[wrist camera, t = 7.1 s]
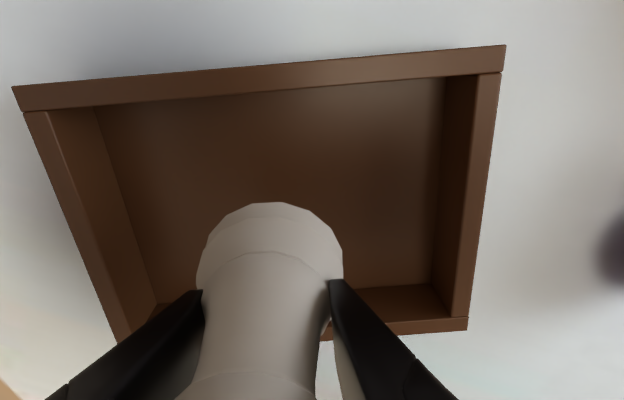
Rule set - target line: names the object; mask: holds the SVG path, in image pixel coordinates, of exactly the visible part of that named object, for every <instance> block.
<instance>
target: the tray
mask: <svg viewBox="0 0 624 400" xmlns="http://www.w3.org/2000/svg"><path fill="white" fill-rule="evenodd" d="M505 53H506V45H493V46H481V47H469V48H458V49H446V50H434V51H422V52H410V53H398V54H387V55H375V56H363V57H351V58H339V59H327V60H316V61H304V62H292V63H280V64H268V65H256V66H244V67H233V68H221V69H209V70H197V71H185V72H173V73H162V74H150V75H138V76H126V77H114V78H102V79H91V80H79V81H67V82H55V83H43V84H31V85H19V86H12V87H11V88H12V91H13V93H14V95H15V98H16V100H17V103H18V105H19V107H20V110H21V111H22V112H24V113H23V116H24V119H25V121H26V123H27V126H28V128H29V131H30V133H31V135H32V138H33V140H34V143H35V145H36V148H37V150H38V152H39V155H40V157H41V160H42V162H43V165H44V167H45V169H46V172H47V174H48V177H49V179H50V182H51V184H52V186H53V189H54V191H55V194H56V196H57V199H58V201H59V203H60V206H61V208H62V211H63V213H64V216H65V218H66V220H67V223H68V225H69V228H70V230H71V232H72V235H73V237H74V240H75V242H76V245H77V247H78V249H79V252H80V254H81V257H82V259H83V262H84V264H85V266H86V269H87V271H88V274H89V276H90V279H91V281H92V283H93V286H94V288H95V291H96V293H97V296H98V298H99V300H100V303H101V305H102V308H103V310H104V313H105V315H106V317H107V320H108V322H109V325H110V327H111V329H112V332H113V334H114V337H115V339H116V342H118V343H117V344H119V343H120V342H121V341H123V340H124V339H125V338H127V337H128V336H129V335H131V334H132V333H133V332H135V331H136V330H137V329H138V328H140V327H141V326H142V325H144V324H145V323H146V322H148V321H149V320H150V319H152V318H153V317H154V316H156V315H157V314H158V313H160V312H161V311H162V310H163V309H165V308H166V307H167V306H169V305H170V304H171V303H173V302H174V301H175V300H177V299H178V298H179V297H181V296H182V295H183V294H184V293H186V292H187V291H189V290H195V289H197V286H196V274H197V270H198V267H199V263H200V259H201V256H202V252H203V250H204V249H205V248H206V244H207V240H208V237H209V234H210V233H211V232H212V231H213V230H214V228H215V227H216V226H217V225H218V224H219V223H220V222H221V221H222V219H223V218H224V217H225V216H226V215H228V214H230V213H232V212H234V211H237V210H239V209H241V208H243V207H245V206H248V205H250V204H252V203H271V202H283V203H287V204H290V205H293V206H296V207H299V208H302V209H305V210H309V211H310V212H312V213H313V214H314V215H315V216H317V217H318V218H319V219H320V220H321V221H323V222H324V223H325V224H326V225H328V226H329V227H330V228H331V229H332V231H333V233H334V235H335V237H336V239H337V241H338V243H339V245H340V247H341V249H342V266H343V279H344V280H345V281H346V282H347V283H348V284H349V285H350V286H351V287H352V288H353V290H354V291H355V292H356V293H357V294H358V295H359V296H360V297H361V298H362V299H363V300H364V301H365V302H366V304H367V305H368V306H369V307H370V308H371V309H372V310H373V311H374V312H375V313H376V314H377V315H378V316H379V318H380V319H381V320H382V321H383V322H384V323H385V324H386V325H387V326H388V327H389V328H390V329H391V330H392V332H393V333H394V334H395V335H396V336H398V335H412V334H425V333H438V332H452V331H465V330H467V326H468V318H469V317H468V315H469V308H470V301H471V293H472V286H473V279H474V272H475V265H476V257H477V250H478V243H479V236H480V229H481V221H482V214H483V207H484V200H485V192H486V185H487V178H488V171H489V164H490V156H491V149H492V142H493V135H494V127H495V120H496V113H497V106H498V99H499V91H500V84H501V77H502V74H501V73H500V72H502V71H503V67H504V60H505ZM332 340H333V332H332V322H331V321H329V323H328V325H327V327H326V329H325V331H324V333H323V335H322V336H320V341H332Z"/></svg>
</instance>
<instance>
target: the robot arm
mask: <svg viewBox="0 0 624 400" xmlns="http://www.w3.org/2000/svg"><path fill="white" fill-rule="evenodd" d="M328 283H329V292H330V307H331V322H332V332H333V343H334V354H335V362H336V368H337V374H338V378H339V383H340V387H341V392H342V397H343V400H458V399H457V398H456V397H455V396H454V395H453V394H452V393H451V392H450V391H449V390H448V389H447V388H445V387H444V386H443V384H442V383H441V382H440V381H439V380H438V379H437V378H436V377H435V376H434V375H433V374H432V373H431V372H430V371H429V370H428V369H427V368H426V367H425V366H424V365H423V364H422V363H421V362H420V360H419V359H417V358H416V357H415V355H414V354H413V353H412V352H411V351H410V350H409V349H408V348H407V347H406V346H405V344H404V343H403V342H402V341H401V340H400V339H399V338H398V337H397V336H396V335H395V334H394V333H393V332H392V330H391V329H390V328H389V327H388V326H387V325H386V324H385V323H384V322H383V321H382V320H381V319H380V318H379V316H378V315H377V314H376V313H375V312H374V311H373V310H372V309H371V308H370V307H369V306H368V305H367V304H366V302H365V301H364V300H363V299H362V298H361V297H360V296H359V295H358V294H357V293H356V292H355V291H354V290H353V288H352V287H351V286H350V285H349V284H348V283H347V282H346V281H345V280H344V279H342V278H341V279H330V280H329V282H328ZM202 294H203V289H195V290H189V291H187V292H186V293H184V294H183V295H182V296H181V297H179V298H178V299H177V300H175V301H174V302H173V303H171V304H170V305H169V306H167V307H166V308H165V309H163V310H162V311H161V312H160V313H158V314H157V315H156V316H154V317H153V318H152V319H150V320H149V321H148V322H146V323H145V324H144V325H142V326H141V327H140V328H138V329H137V330H136V331H135V332H133V333H132V334H131V335H129V336H128V337H127V338H125V339H124V340H123V341H121V342H120V343H119V344H117V345H116V346H115V347H113V348H112V349H111V350H110V351H108V352H107V353H106V354H104V355H103V356H102V357H100V358H99V359H98V360H96V361H95V362H94V363H92V364H91V365H90V366H88V367H87V368H86V369H85V370H83V371H82V372H81V373H79V374H78V375H77V376H75V377H74V378H73V379H71V380H70V381H69V383H68V384H65V385H63V386H62V387H61V388H59V389H58V390H57V391H56V392H54V393H53V394H52V395H50V396H49V397H48V398H46V399H45V400H174V399H175V398H176V397H178V396H179V395H180V394H181V393H182V392H183V391H184V390H185V389H186V388H187V387H188V386H189V385H190V384H191V383H192V380H193V377H194V375H195V372H196V369H197V365H198V360H199V355H200V350H201V345H202V340H203V335H204V330H205V318H204V314H203V310H202V306H201V297H202Z"/></svg>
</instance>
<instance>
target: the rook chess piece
mask: <svg viewBox="0 0 624 400" xmlns="http://www.w3.org/2000/svg"><path fill="white" fill-rule="evenodd" d="M341 278H342V279H343V266H342V249H341V247H340V245H339V243H338V241H337V239H336V237H335V235H334V233H333V231H332V229H331V228H330V227H329V226H328V225H326V224H325V223H324V222H323V221H321V220H320V219H319V218H318V217H317V216H315V215H314V214H313V213H312V212H310V211H309V210H305V209H302V208H299V207H296V206H293V205H290V204H287V203H283V202H271V203H252V204H250V205H248V206H245V207H243V208H241V209H239V210H237V211H234V212H232V213H230V214H228V215H226V216H225V217H224V218H223V219H222V221H221V222H220V223H219V224H218V225H217V226H216V227H215V228H214V230H213V231H212V232H211V233H210V234H209V237H208V240H207V244H206V248H205V249H204V250H203V252H202V256H201V259H200V263H199V267H198V270H197V274H196V286H197V289H203V294H202V297H201V306H202V310H203V314H204V318H205V330H204V335H203V340H202V345H201V350H200V355H199V360H198V365H197V369H196V372H195V375H194V377H193V380H192V383H191V384H190V385H189V386H188V387H187V388H186V389H185V390H184V391H183V392H182V393H181V394H180V395H179V396H178V397H176V398H175V399H174V400H317V399H316V398H315V378H316V369H317V361H318V352H319V343H320V336H322V335H323V333H324V331H325V329H326V327H327V325H328V323H329V321H331V307H330V292H329V283H328V282H329V280H330V279H341Z"/></svg>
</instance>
